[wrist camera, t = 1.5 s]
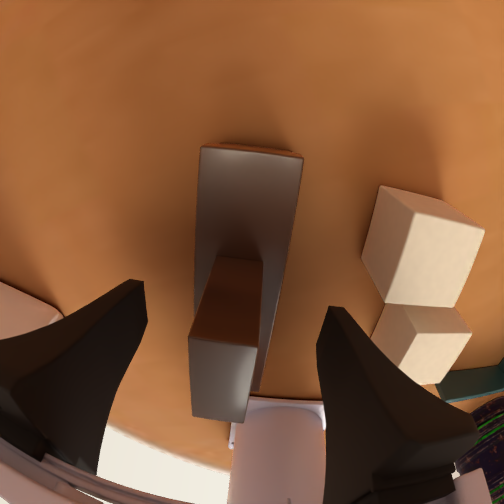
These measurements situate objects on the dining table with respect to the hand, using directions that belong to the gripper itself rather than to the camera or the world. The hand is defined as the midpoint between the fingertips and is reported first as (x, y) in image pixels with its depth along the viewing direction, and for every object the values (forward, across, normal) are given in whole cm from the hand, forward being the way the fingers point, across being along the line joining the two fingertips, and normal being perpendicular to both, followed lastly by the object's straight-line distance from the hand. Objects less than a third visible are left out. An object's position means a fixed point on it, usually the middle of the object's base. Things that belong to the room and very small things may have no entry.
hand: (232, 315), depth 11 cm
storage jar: (+5, -32, +19) cm, 37 cm away
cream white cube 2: (+4, -8, -3) cm, 10 cm away
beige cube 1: (+4, -10, +2) cm, 12 cm away
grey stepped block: (+4, 0, 0) cm, 4 cm away
